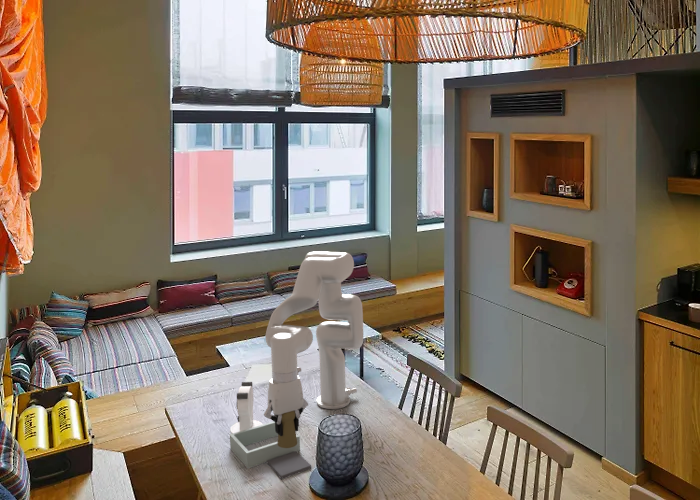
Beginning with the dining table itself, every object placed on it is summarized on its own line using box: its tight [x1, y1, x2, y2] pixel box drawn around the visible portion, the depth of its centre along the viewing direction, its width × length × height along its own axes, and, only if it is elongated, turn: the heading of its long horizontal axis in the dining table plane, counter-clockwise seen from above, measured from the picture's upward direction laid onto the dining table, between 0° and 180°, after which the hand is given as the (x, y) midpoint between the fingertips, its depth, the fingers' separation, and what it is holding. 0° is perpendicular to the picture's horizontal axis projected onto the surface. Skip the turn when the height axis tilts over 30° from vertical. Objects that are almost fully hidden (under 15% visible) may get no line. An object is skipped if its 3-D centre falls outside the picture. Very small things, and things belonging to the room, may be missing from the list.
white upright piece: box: [229, 381, 264, 434], centre depth 200 cm, size 12×11×15 cm
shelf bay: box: [229, 420, 301, 469], centre depth 187 cm, size 18×14×5 cm
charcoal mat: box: [266, 451, 312, 480], centre depth 177 cm, size 10×10×1 cm
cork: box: [276, 411, 297, 448], centre depth 175 cm, size 6×6×11 cm
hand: (287, 431), depth 175 cm, fingers closed on cork, 4 cm apart
